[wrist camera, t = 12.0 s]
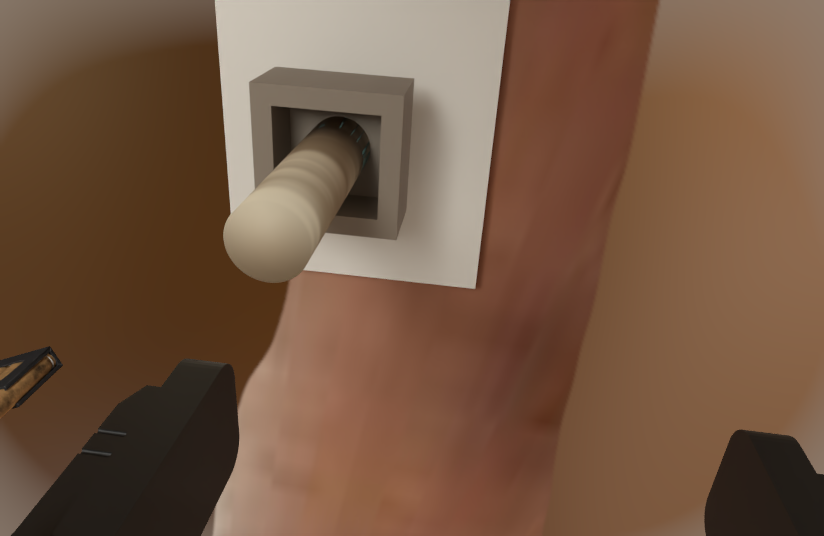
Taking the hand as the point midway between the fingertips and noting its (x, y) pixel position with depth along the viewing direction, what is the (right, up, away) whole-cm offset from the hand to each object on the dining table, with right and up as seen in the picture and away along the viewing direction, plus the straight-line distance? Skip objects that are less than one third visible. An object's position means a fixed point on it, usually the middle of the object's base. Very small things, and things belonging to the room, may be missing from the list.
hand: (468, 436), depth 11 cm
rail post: (-5, +9, +23) cm, 25 cm away
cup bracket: (-4, +12, +29) cm, 31 cm away
